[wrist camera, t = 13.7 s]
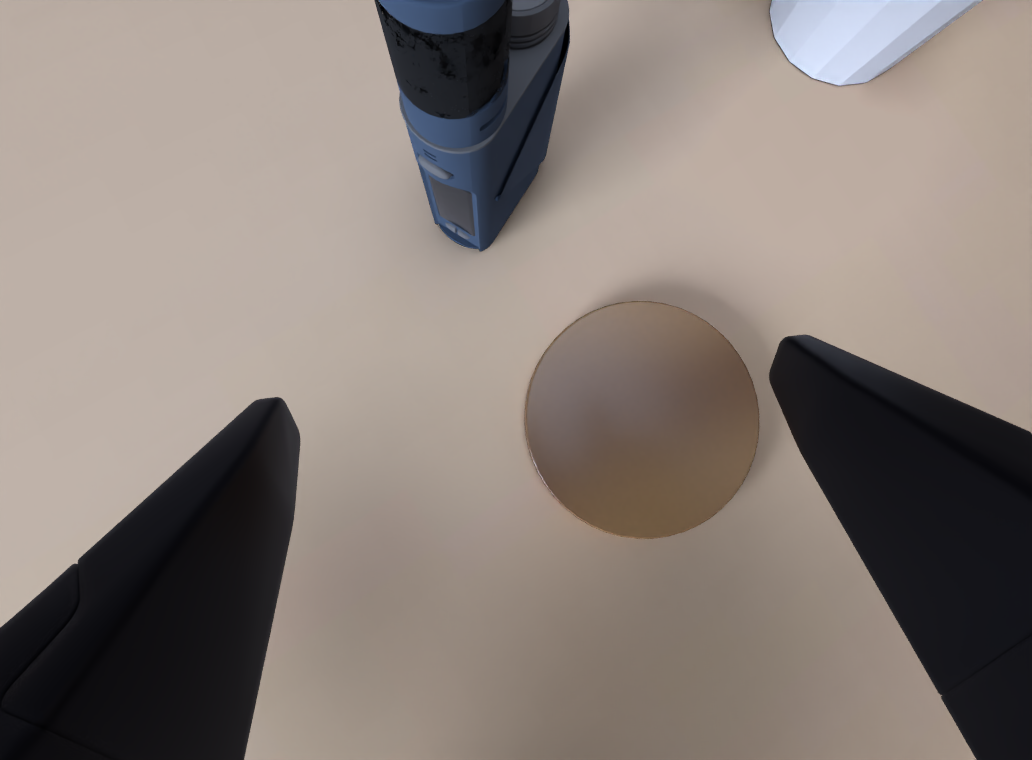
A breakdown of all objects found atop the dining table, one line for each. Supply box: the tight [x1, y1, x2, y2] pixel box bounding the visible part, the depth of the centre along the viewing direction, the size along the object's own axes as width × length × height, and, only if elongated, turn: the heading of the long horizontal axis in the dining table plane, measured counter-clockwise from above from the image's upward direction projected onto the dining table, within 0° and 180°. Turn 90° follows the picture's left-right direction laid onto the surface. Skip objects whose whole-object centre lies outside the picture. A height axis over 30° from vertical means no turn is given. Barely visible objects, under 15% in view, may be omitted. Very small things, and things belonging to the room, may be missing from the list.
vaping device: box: [375, 0, 570, 251], centre depth 13 cm, size 3×5×12 cm, turn 148°
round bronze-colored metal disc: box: [525, 301, 759, 539], centre depth 18 cm, size 8×8×1 cm
